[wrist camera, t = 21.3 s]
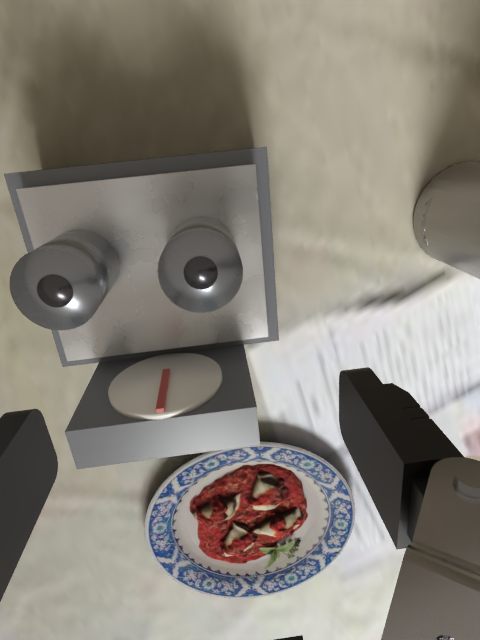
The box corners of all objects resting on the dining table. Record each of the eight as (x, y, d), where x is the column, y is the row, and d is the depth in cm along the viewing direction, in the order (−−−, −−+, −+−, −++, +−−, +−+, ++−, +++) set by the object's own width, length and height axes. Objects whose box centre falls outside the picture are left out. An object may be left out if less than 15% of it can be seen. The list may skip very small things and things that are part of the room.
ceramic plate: (109, 473, 47) (104, 493, 44) (320, 401, 45) (328, 417, 43) (193, 604, 57) (192, 626, 54) (368, 547, 55) (376, 568, 53)
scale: (254, 148, 34) (293, 144, 20) (268, 337, 41) (304, 438, 27) (41, 169, 34) (-84, 182, 19) (92, 358, 41) (30, 475, 26)
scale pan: (254, 163, 28) (255, 164, 27) (266, 332, 33) (268, 336, 32) (21, 188, 27) (16, 189, 27) (70, 356, 32) (67, 361, 32)
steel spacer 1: (95, 217, 28) (68, 233, 22) (132, 280, 30) (115, 309, 24) (32, 247, 28) (-10, 271, 23) (72, 308, 30) (43, 343, 24)
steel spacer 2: (232, 212, 28) (238, 225, 23) (239, 280, 30) (246, 308, 25) (161, 220, 28) (150, 235, 23) (172, 288, 30) (165, 317, 24)
